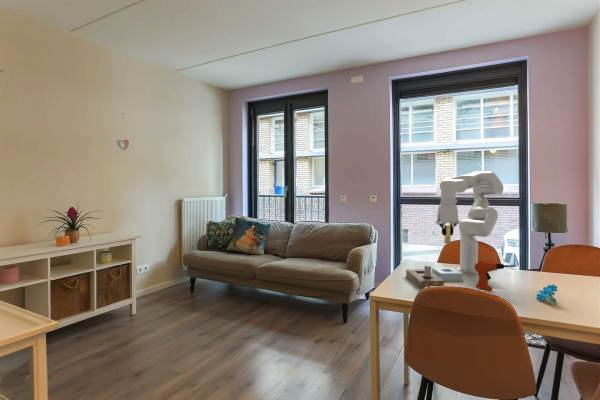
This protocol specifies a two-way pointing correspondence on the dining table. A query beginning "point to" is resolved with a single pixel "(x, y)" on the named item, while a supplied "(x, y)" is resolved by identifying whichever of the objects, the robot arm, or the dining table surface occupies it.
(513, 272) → the dining table surface
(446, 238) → the gold drill bit
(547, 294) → the blue flower bunch
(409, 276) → the bit rack
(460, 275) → the socket block
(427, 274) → the steel drill bit
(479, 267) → the toy drill
